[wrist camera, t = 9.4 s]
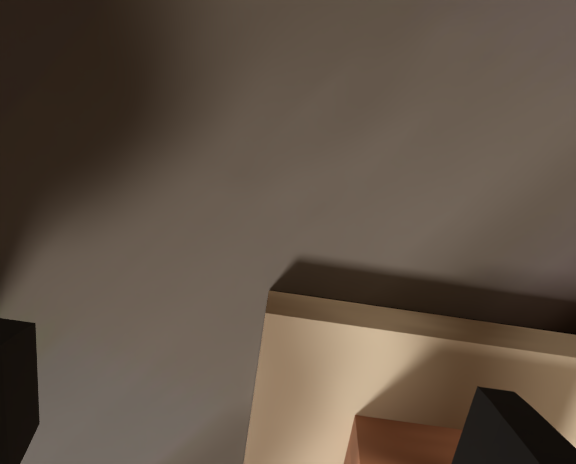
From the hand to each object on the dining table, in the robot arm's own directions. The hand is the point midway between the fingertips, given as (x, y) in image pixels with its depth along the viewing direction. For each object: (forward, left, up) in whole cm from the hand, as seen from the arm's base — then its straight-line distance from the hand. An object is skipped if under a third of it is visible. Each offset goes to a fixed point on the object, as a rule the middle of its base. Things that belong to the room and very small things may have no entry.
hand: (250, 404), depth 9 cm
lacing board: (+6, -9, -9) cm, 14 cm away
